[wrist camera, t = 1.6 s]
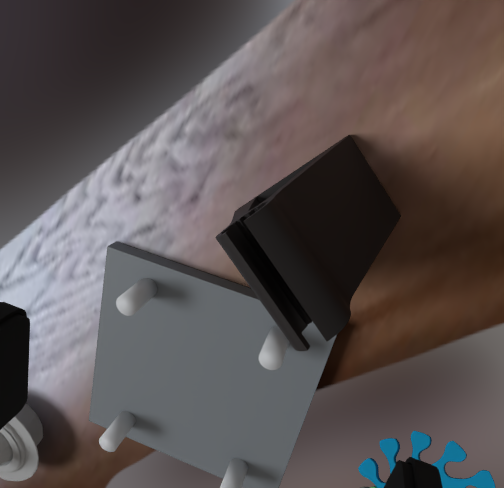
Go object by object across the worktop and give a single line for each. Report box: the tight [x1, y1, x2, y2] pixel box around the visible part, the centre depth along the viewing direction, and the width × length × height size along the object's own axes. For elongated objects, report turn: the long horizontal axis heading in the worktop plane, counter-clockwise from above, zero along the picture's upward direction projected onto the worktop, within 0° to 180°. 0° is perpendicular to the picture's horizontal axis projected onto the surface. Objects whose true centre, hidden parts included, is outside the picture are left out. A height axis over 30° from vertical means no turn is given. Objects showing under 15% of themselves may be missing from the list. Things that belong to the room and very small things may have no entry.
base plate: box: [89, 242, 336, 488], centre depth 33 cm, size 18×18×4 cm
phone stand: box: [216, 135, 401, 351], centre depth 22 cm, size 9×6×12 cm, turn 126°
